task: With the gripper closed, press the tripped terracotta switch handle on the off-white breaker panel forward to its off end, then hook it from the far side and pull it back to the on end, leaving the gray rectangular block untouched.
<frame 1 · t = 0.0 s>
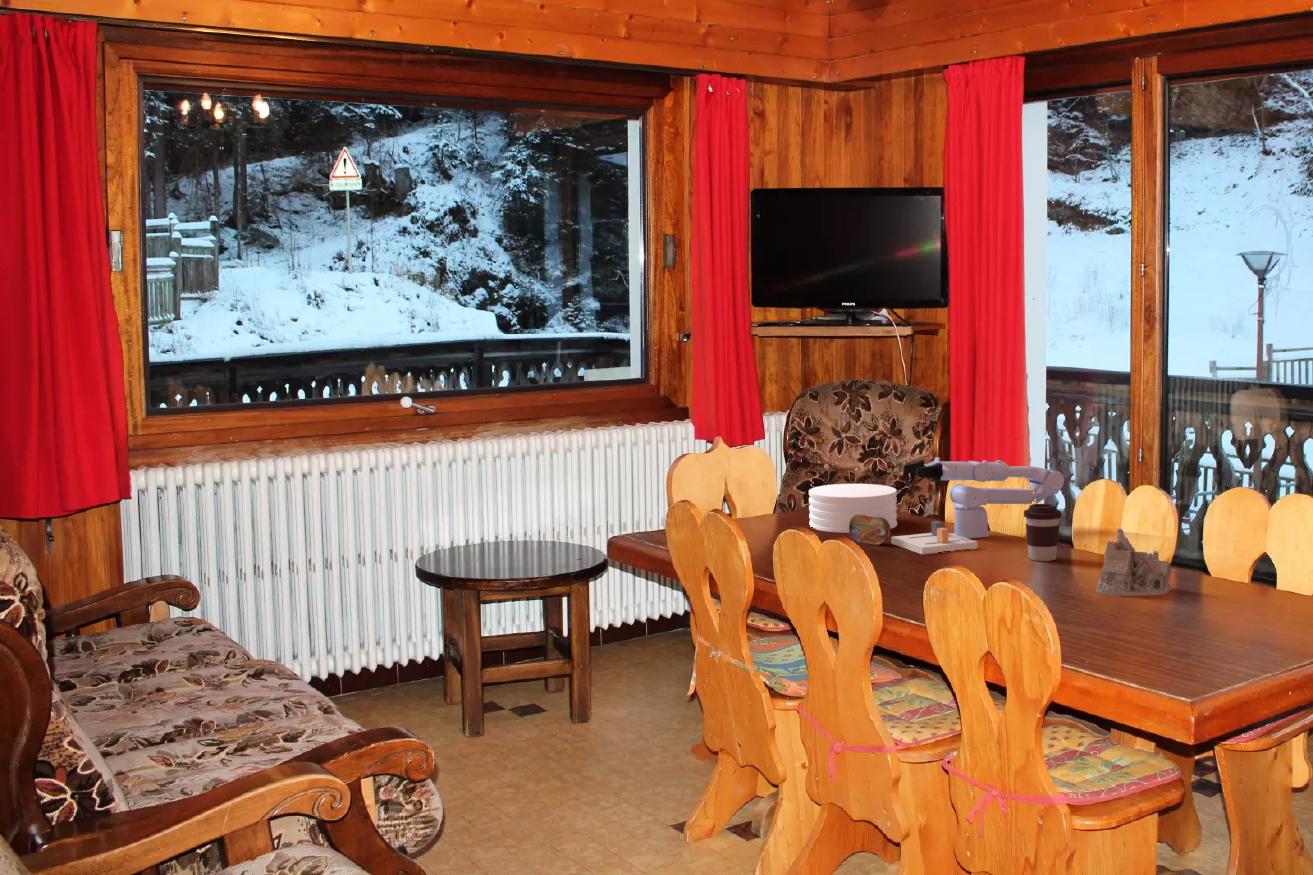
hand: (910, 470, 378), 22 cm above the table, tool horizontal, fingers open, 7 cm apart
gray rectangular block: (936, 528, 380), point 4 cm above the table, slide at 0.0 cm
tin: (870, 543, 382), on the table
tripped switch: (942, 535, 369), point 4 cm above the table, slide at 4.0 cm
ceramic cottage: (1132, 591, 314), on the table
breaker panel: (933, 546, 374), on the table
plate stack: (852, 525, 412), on the table
coffee cup: (1042, 559, 352), on the table
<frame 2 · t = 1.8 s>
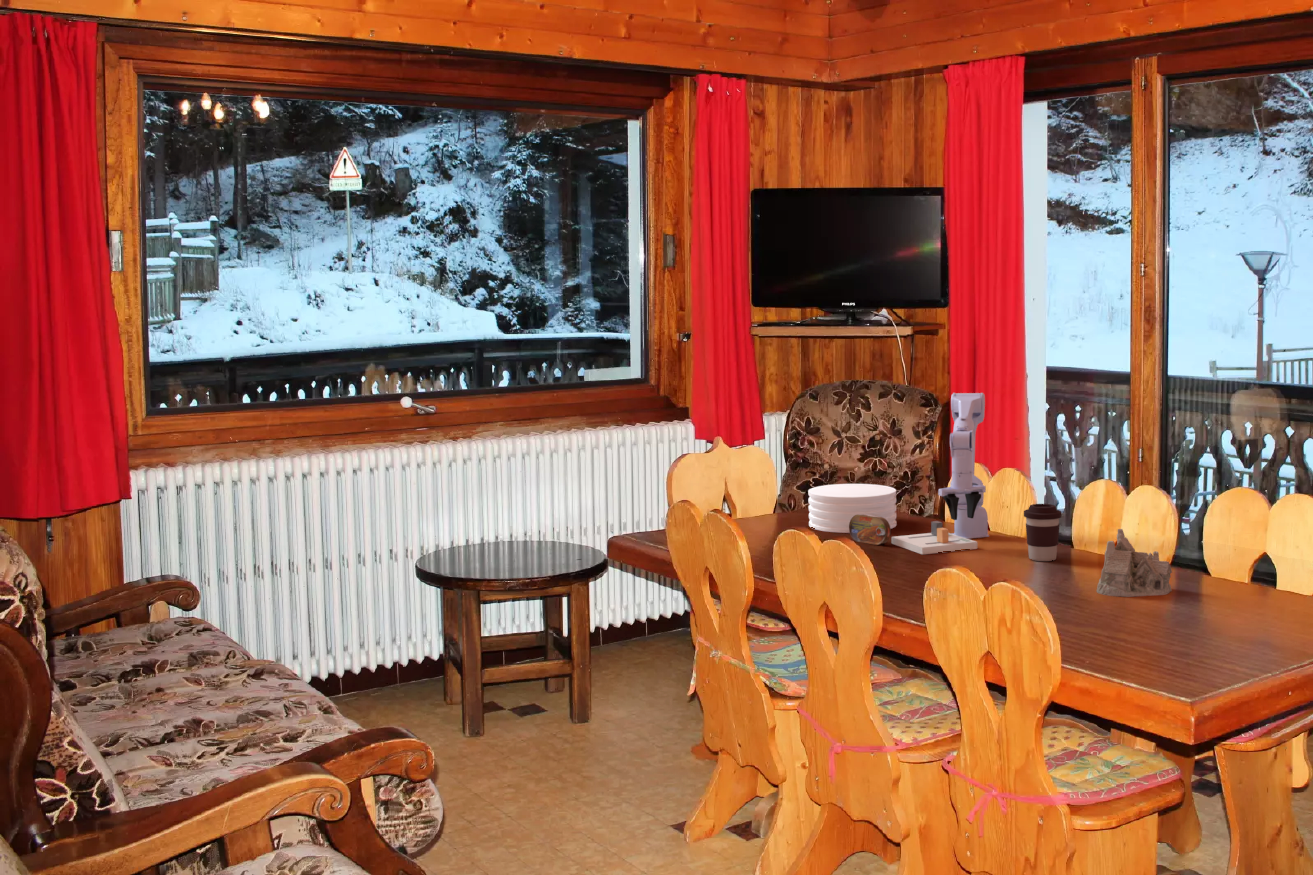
hand: (962, 518, 370), 8 cm above the table, tool pointing down, fingers open, 5 cm apart
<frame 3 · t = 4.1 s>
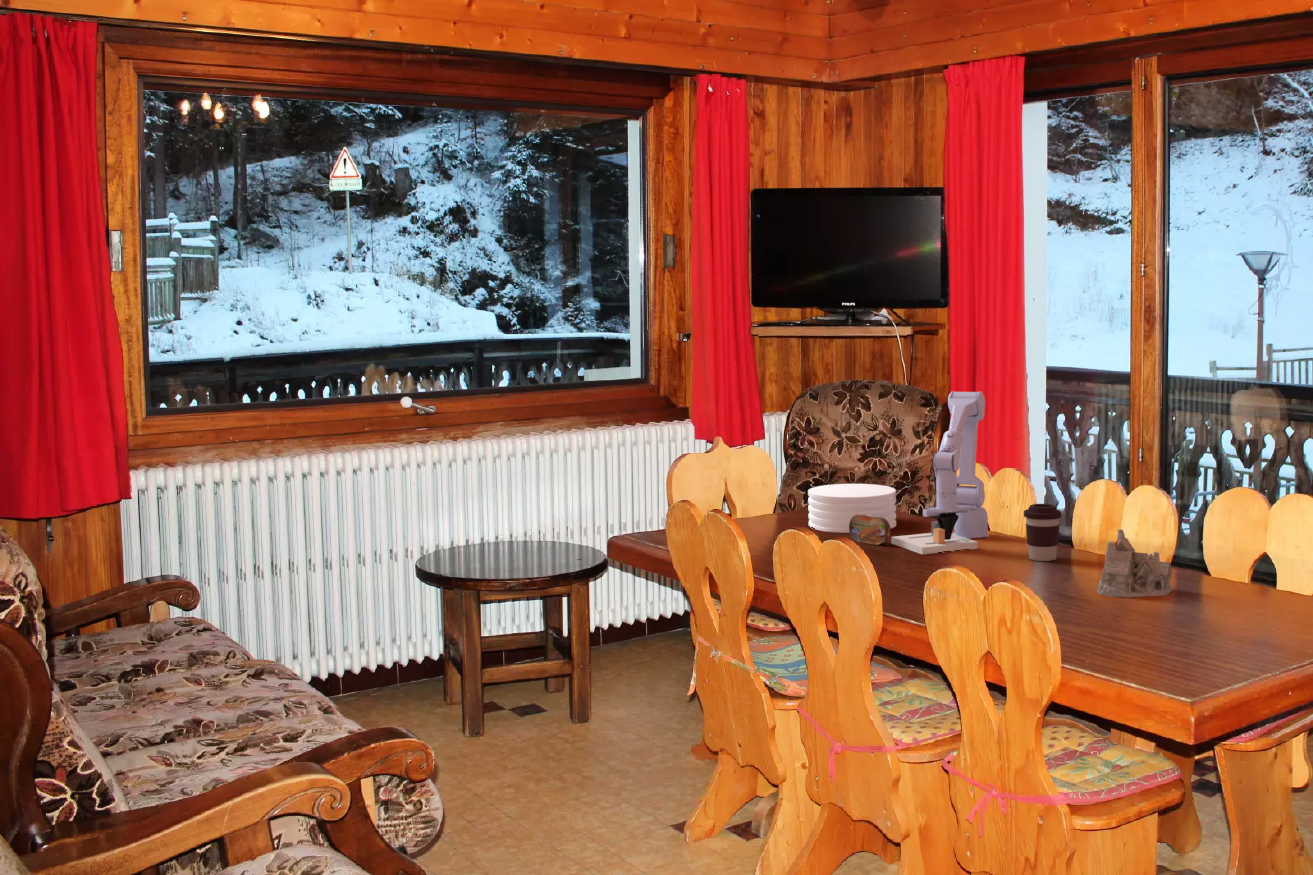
hand: (946, 539, 369), 3 cm above the table, tool pointing down, fingers closed
tripped switch: (938, 535, 369), point 4 cm above the table, slide at 5.2 cm, touching gripper
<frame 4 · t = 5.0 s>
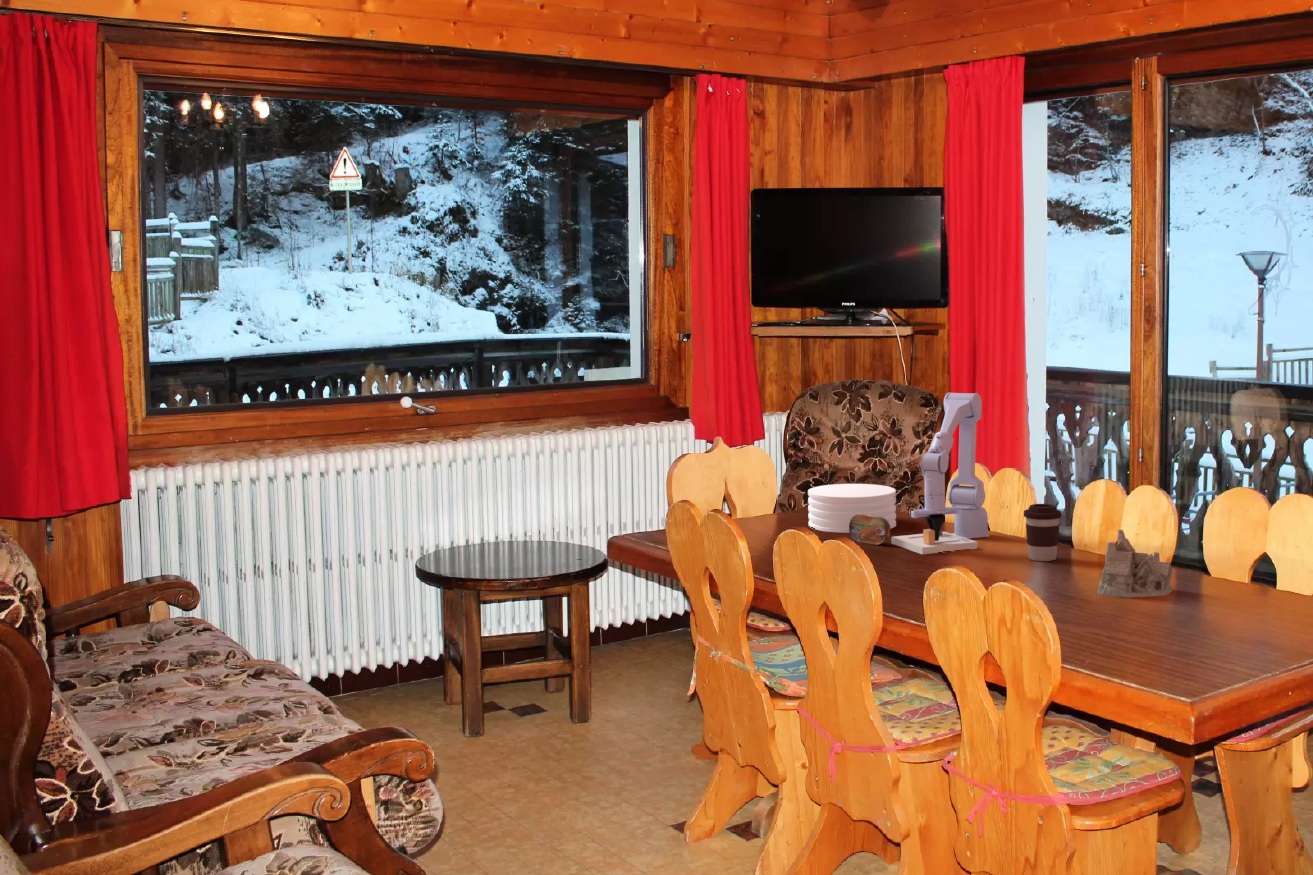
hand: (935, 540, 368), 3 cm above the table, tool pointing down, fingers closed
tripped switch: (929, 536, 368), point 4 cm above the table, slide at 8.5 cm, touching gripper
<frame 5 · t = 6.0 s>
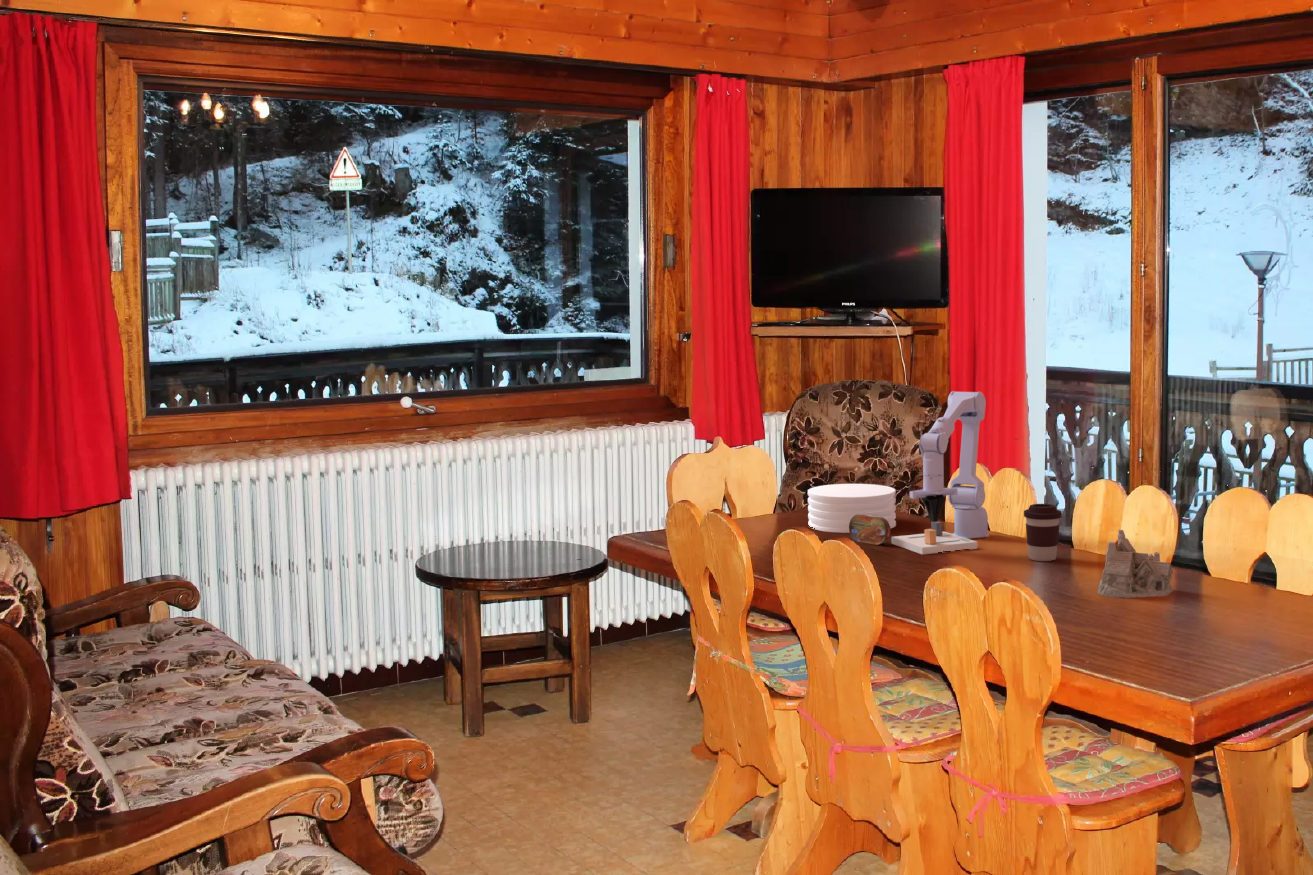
hand: (933, 521, 368), 8 cm above the table, tool pointing down, fingers closed
tripped switch: (930, 536, 368), point 4 cm above the table, slide at 8.1 cm
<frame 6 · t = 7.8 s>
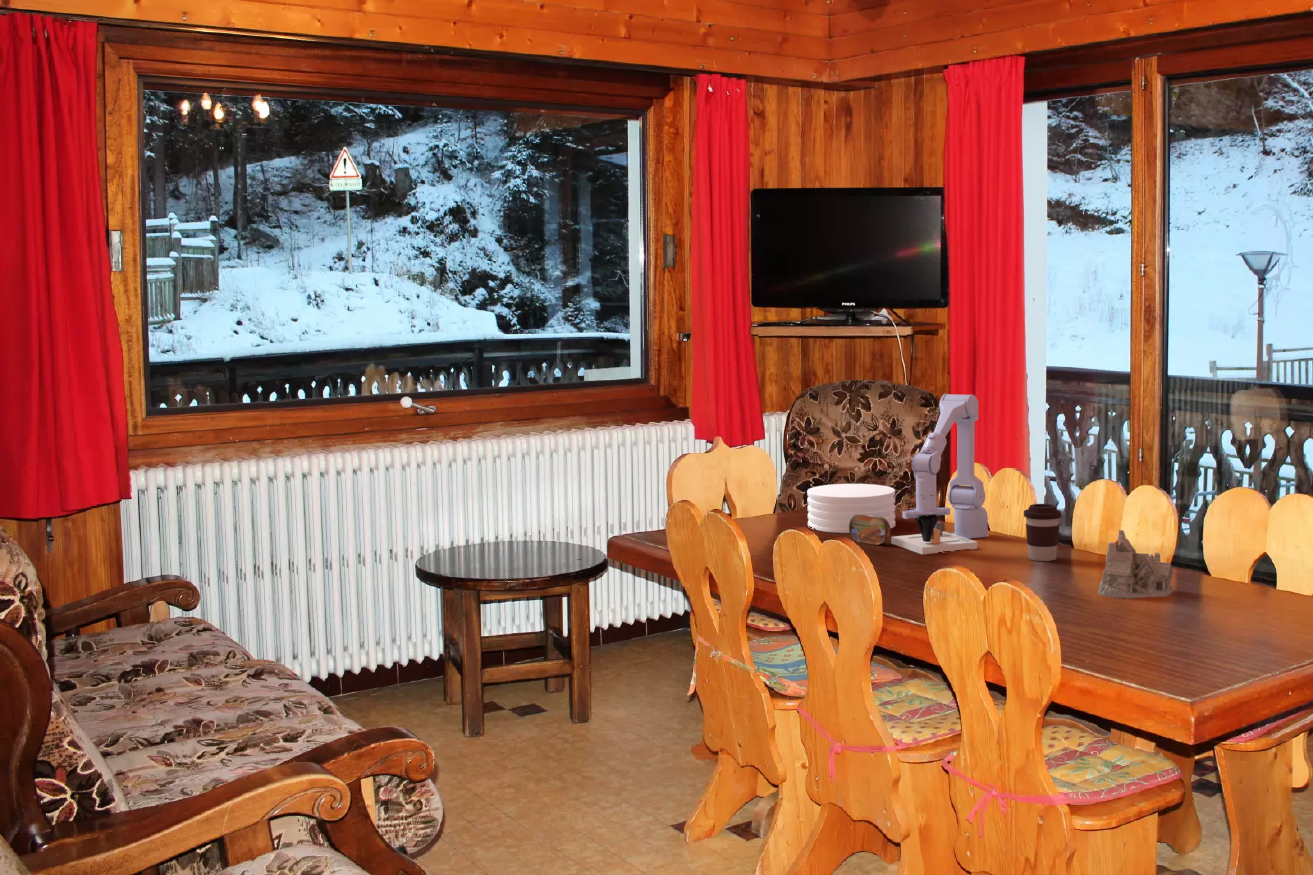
hand: (926, 541, 368), 3 cm above the table, tool pointing down, fingers closed
tripped switch: (934, 536, 368), point 4 cm above the table, slide at 6.7 cm, touching gripper
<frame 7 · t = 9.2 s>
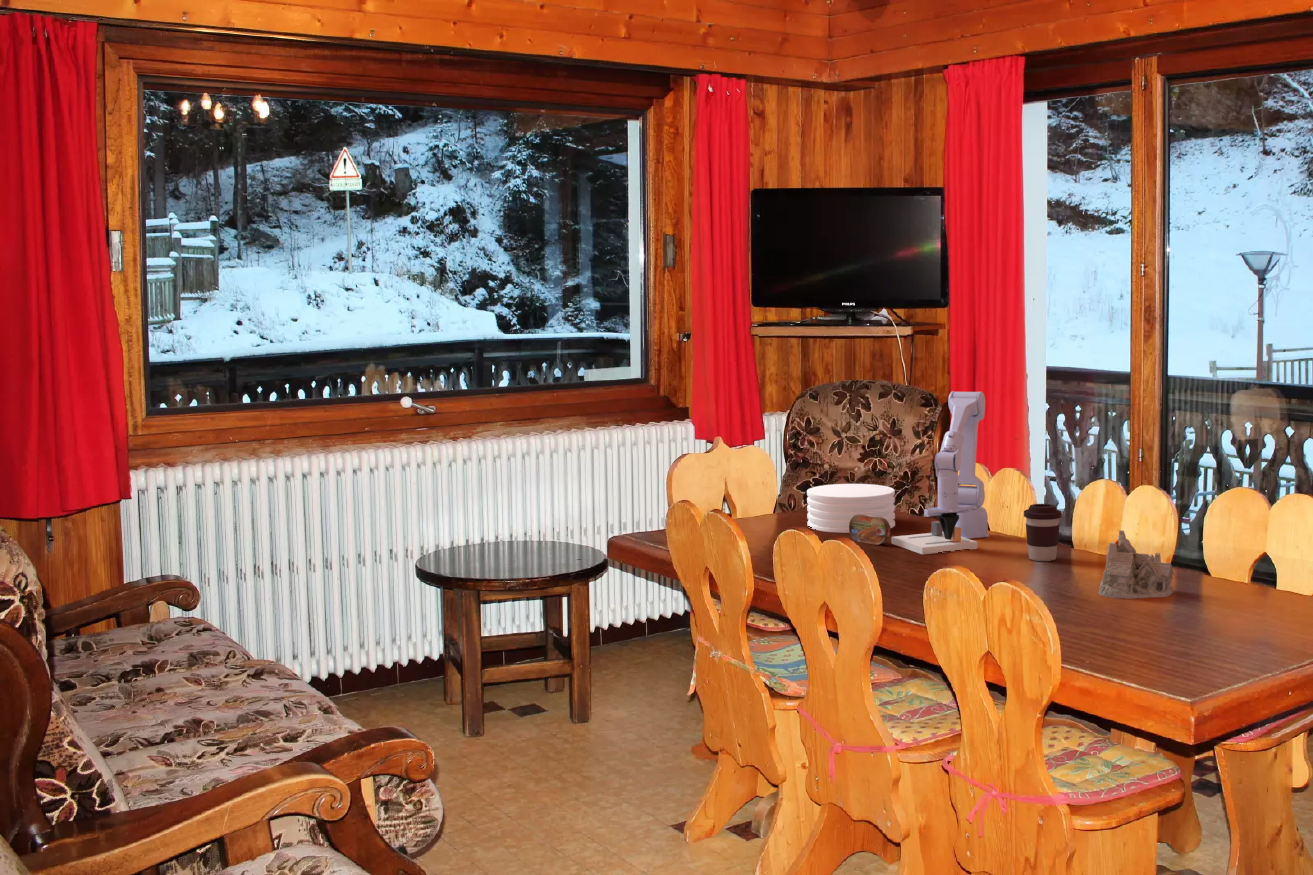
hand: (948, 539, 370), 3 cm above the table, tool pointing down, fingers closed
tripped switch: (955, 534, 370), point 4 cm above the table, slide at -0.2 cm, touching gripper
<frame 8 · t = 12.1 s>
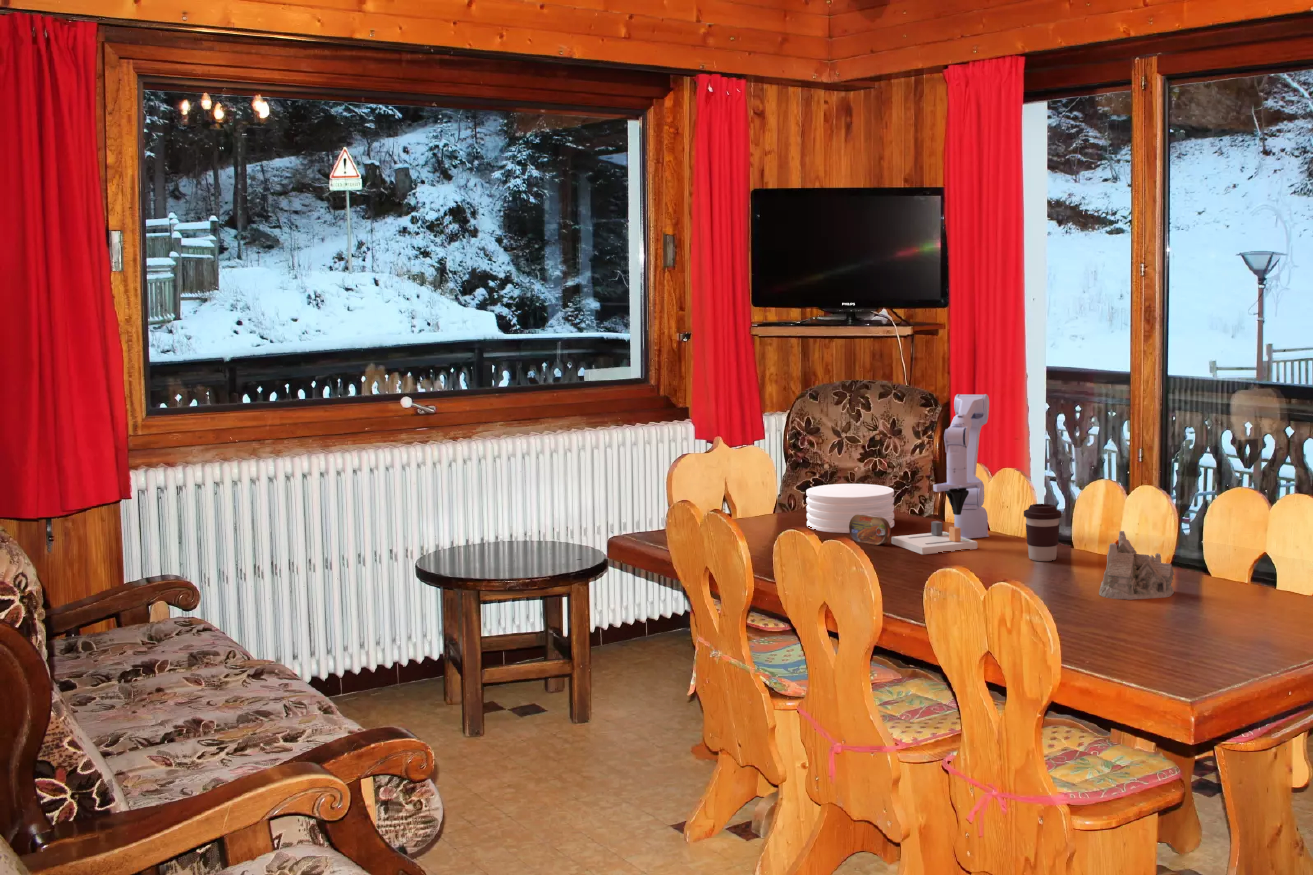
hand: (957, 514, 372), 9 cm above the table, tool pointing down, fingers closed
tripped switch: (954, 534, 370), point 4 cm above the table, slide at -0.1 cm
at the end: tripped switch slide at -0.1 cm; gray rectangular block slide at 0.0 cm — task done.
